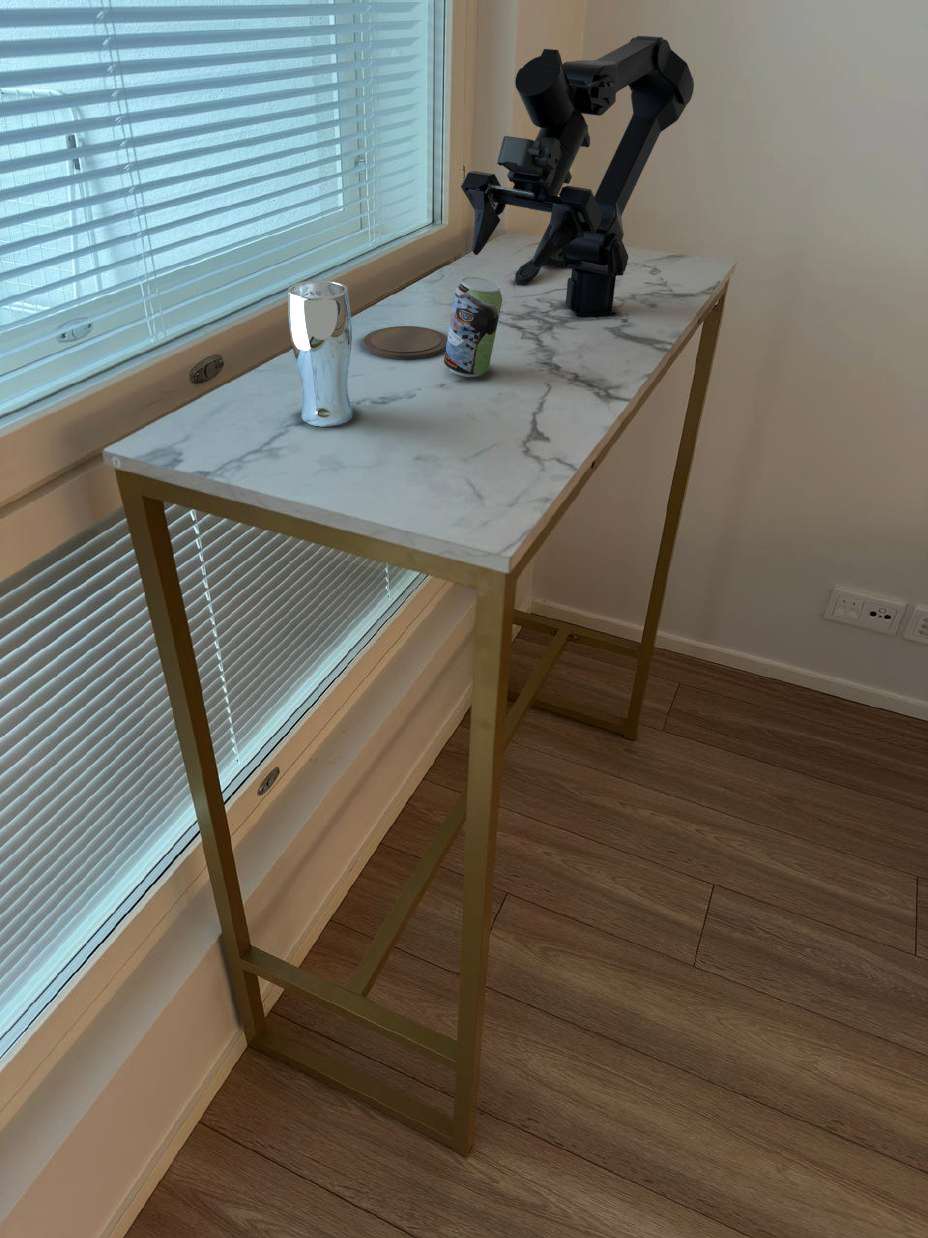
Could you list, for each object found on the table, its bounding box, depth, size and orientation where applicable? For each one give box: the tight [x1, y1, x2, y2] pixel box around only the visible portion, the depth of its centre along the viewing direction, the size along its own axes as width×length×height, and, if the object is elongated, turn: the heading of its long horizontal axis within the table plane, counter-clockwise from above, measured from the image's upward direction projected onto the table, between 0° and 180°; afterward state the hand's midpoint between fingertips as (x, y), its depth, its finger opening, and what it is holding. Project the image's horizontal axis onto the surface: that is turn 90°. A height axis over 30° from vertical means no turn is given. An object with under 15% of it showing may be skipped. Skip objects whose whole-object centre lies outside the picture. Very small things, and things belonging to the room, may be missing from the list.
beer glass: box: [287, 280, 354, 428], centre depth 104 cm, size 7×7×15 cm
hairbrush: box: [514, 249, 563, 286], centre depth 161 cm, size 8×4×25 cm
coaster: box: [363, 325, 448, 361], centre depth 129 cm, size 12×12×1 cm
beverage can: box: [443, 276, 503, 378], centre depth 117 cm, size 6×7×12 cm
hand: (503, 259), depth 118 cm, fingers open, 9 cm apart
